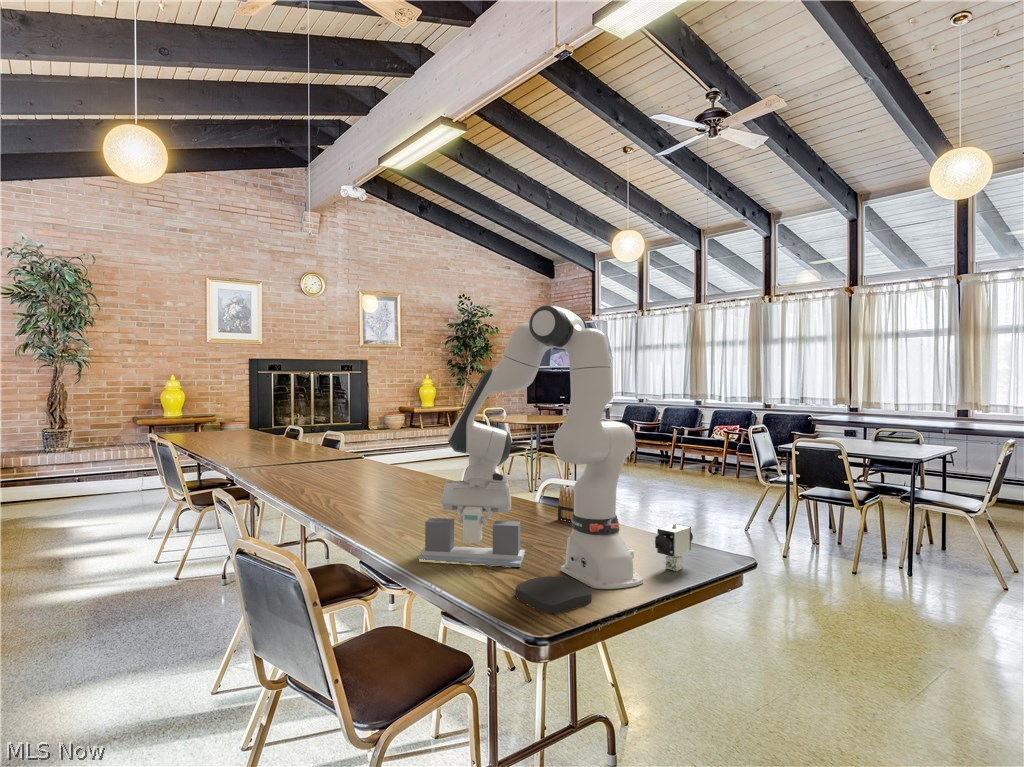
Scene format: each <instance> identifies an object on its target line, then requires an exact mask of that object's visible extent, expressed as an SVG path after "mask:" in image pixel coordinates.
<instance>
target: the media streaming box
mask: <svg viewBox="0 0 1024 767" xmlns="http://www.w3.org/2000/svg"><path fill="white" fill-rule="evenodd" d="M514 593H515V596H516V597H515V596H514V597H515V598H516V599H517V598H518V599H519V601H520V600H521V601H520V602H522V603H523V602H524V604H525V603H526V604H525V605H527V604H528V605H527V606H529V605H530V606H529V607H531V608H532V607H534V608H535V610H536V609H537V611H539V612H541V611H542V612H541V613H544V612H549V613H548V614H559V613H558V612H560V613H563V611H564V612H567V611H566V610H568V611H570V610H574V608H575V609H577V607H578V608H581V607H583V606H587V605H589V604H591V602H592V600H593V594H592V589H591V587H590V588H589V587H588V585H586V584H584V583H583V582H581V581H579V580H575V579H572V578H569V577H563V576H551V575H550V576H539V577H534V578H530V579H527V580H525V581H522V582H520V583H519V584H517V585H516V586H515V592H514ZM518 599H517V600H518ZM534 608H533V609H534Z"/></svg>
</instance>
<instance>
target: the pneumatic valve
mask: <svg viewBox="0 0 1024 767" xmlns="http://www.w3.org/2000/svg"><path fill="white" fill-rule="evenodd" d="M654 538H655V541H654V545H655V547H654V548H655V549H657V550H656V551H657V554H661V555H665V556H664V558H665V562H664V565H665V566H664V568H665V569H666V570H672V571H674V572H675V571H676V572H678V571H681V570H683V569H684V566H683V563H684V557H683V555H682V554H683V553H686V552H688V551H691V549H692V545H691V544H692V542H693V539H694V536H693V532H692V526H687V525H684V524H680V523H672V524H669V525H668V526H667V525H664V526H661V527H660V528H657V535H656V536H655V537H654Z"/></svg>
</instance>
